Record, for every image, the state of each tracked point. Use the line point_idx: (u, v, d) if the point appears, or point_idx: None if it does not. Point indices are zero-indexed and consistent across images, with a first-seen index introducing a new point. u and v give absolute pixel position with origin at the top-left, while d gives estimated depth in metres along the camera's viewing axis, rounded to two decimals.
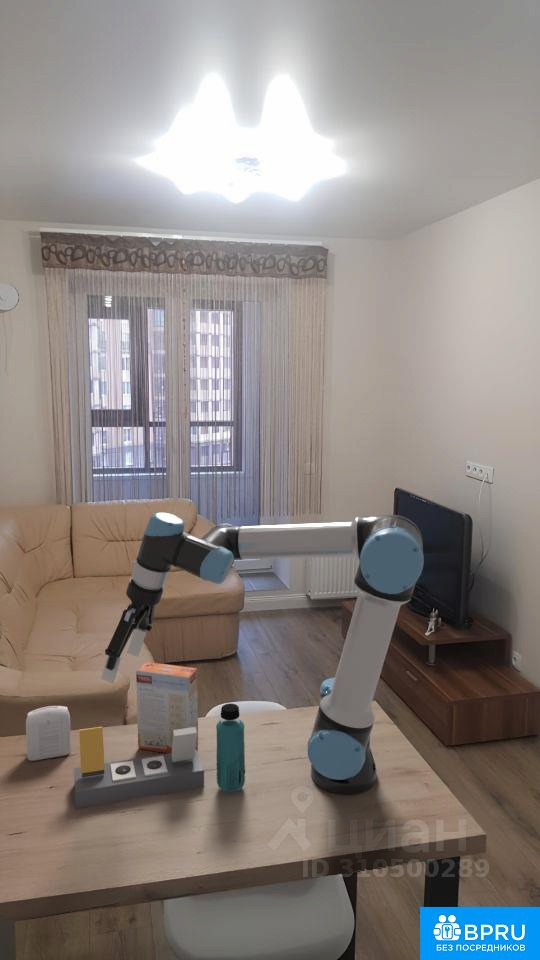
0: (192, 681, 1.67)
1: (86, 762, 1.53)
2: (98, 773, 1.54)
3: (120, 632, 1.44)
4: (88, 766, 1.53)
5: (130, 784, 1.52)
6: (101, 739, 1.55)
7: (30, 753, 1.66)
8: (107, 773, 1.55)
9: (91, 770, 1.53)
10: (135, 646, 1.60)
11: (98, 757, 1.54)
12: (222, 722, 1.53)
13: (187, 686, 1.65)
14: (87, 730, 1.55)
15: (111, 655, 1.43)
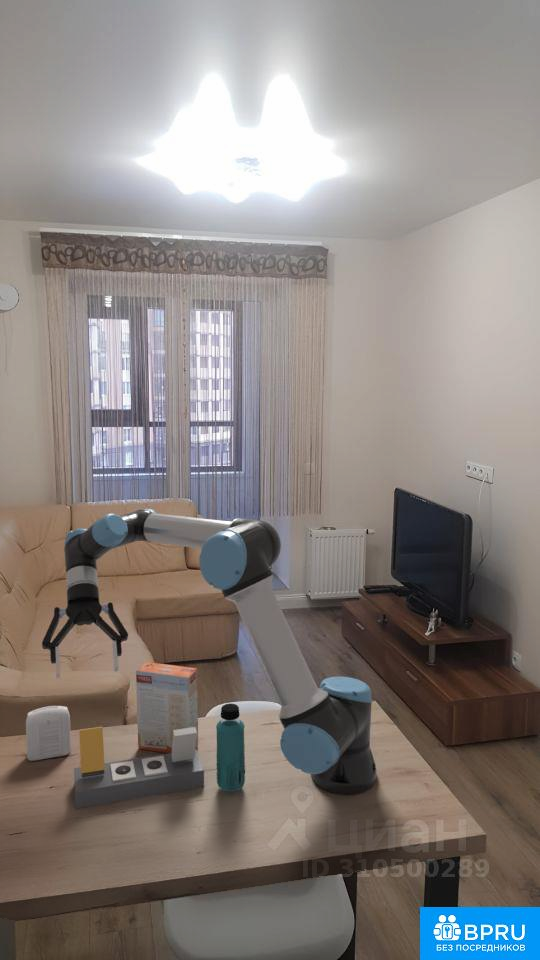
0: (192, 681, 1.67)
1: (86, 762, 1.53)
2: (98, 773, 1.54)
3: None
4: (88, 766, 1.53)
5: (130, 784, 1.52)
6: (101, 739, 1.55)
7: (30, 753, 1.66)
8: (107, 773, 1.55)
9: (91, 770, 1.53)
10: None
11: (98, 757, 1.54)
12: (222, 722, 1.53)
13: (187, 686, 1.65)
14: (87, 730, 1.55)
15: (42, 645, 1.61)
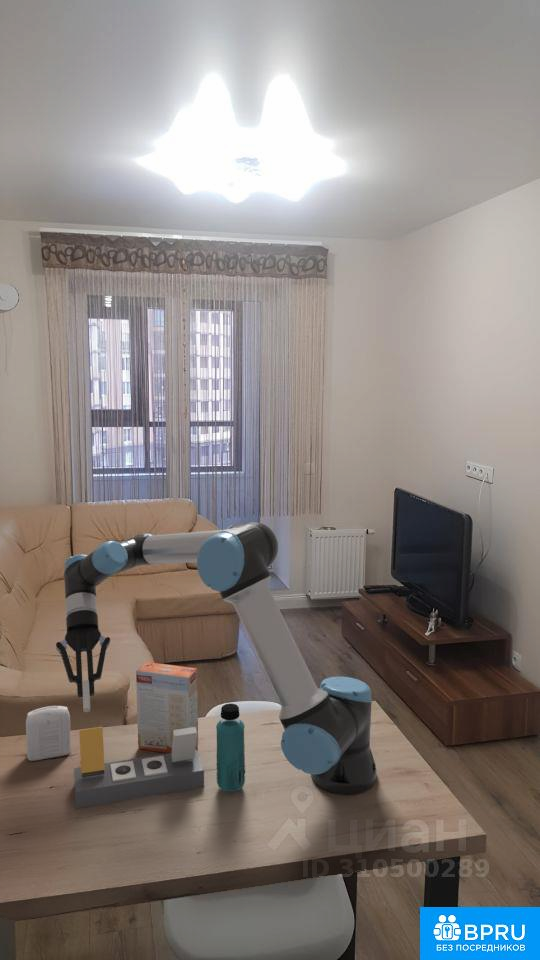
0: (192, 681, 1.67)
1: (86, 762, 1.53)
2: (98, 773, 1.54)
3: (63, 661, 1.65)
4: (88, 766, 1.53)
5: (130, 784, 1.52)
6: (101, 739, 1.55)
7: (30, 753, 1.66)
8: (107, 773, 1.55)
9: (91, 770, 1.53)
10: None
11: (98, 757, 1.54)
12: (222, 722, 1.53)
13: (187, 686, 1.65)
14: (87, 730, 1.55)
15: (69, 678, 1.62)
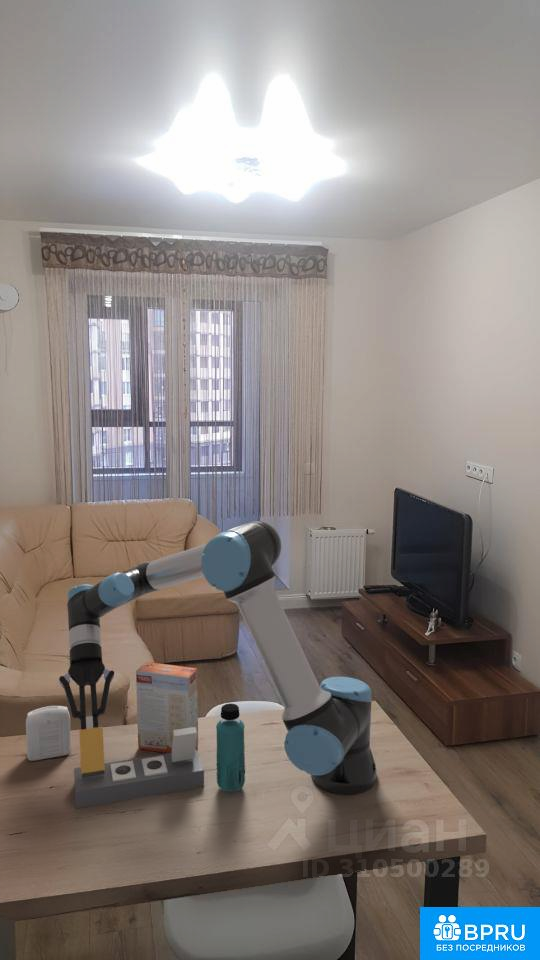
0: (192, 681, 1.67)
1: (86, 762, 1.53)
2: (98, 773, 1.54)
3: (66, 696, 1.62)
4: (88, 766, 1.53)
5: (130, 784, 1.52)
6: (101, 739, 1.55)
7: (30, 753, 1.66)
8: (107, 773, 1.55)
9: (91, 770, 1.53)
10: None
11: (98, 757, 1.54)
12: (222, 722, 1.53)
13: (187, 686, 1.65)
14: (87, 731, 1.54)
15: None
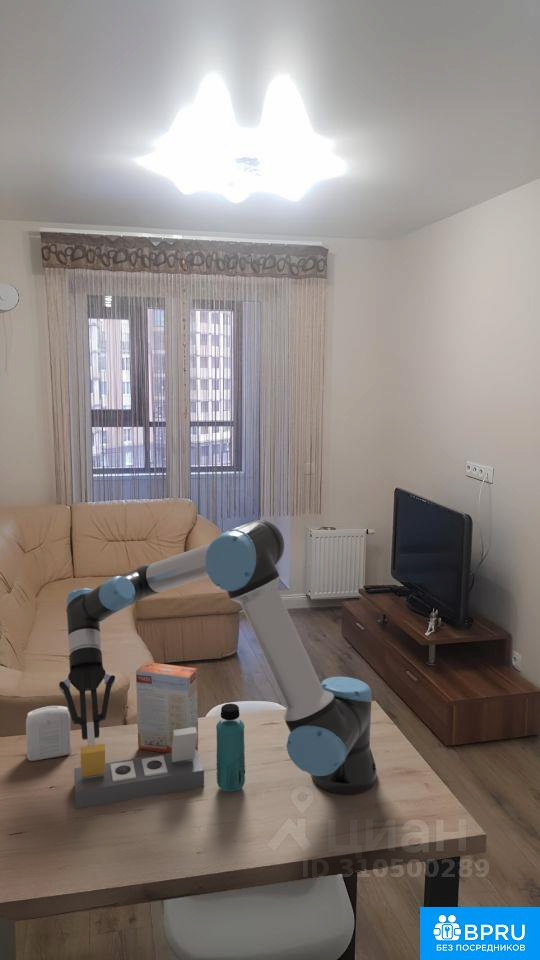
0: (192, 681, 1.67)
1: (87, 771, 1.51)
2: (98, 774, 1.54)
3: None
4: (88, 773, 1.52)
5: (130, 784, 1.52)
6: (103, 757, 1.50)
7: (30, 753, 1.66)
8: (107, 773, 1.55)
9: (91, 775, 1.53)
10: None
11: (99, 767, 1.52)
12: (222, 722, 1.53)
13: (187, 686, 1.65)
14: (89, 753, 1.48)
15: (73, 720, 1.57)
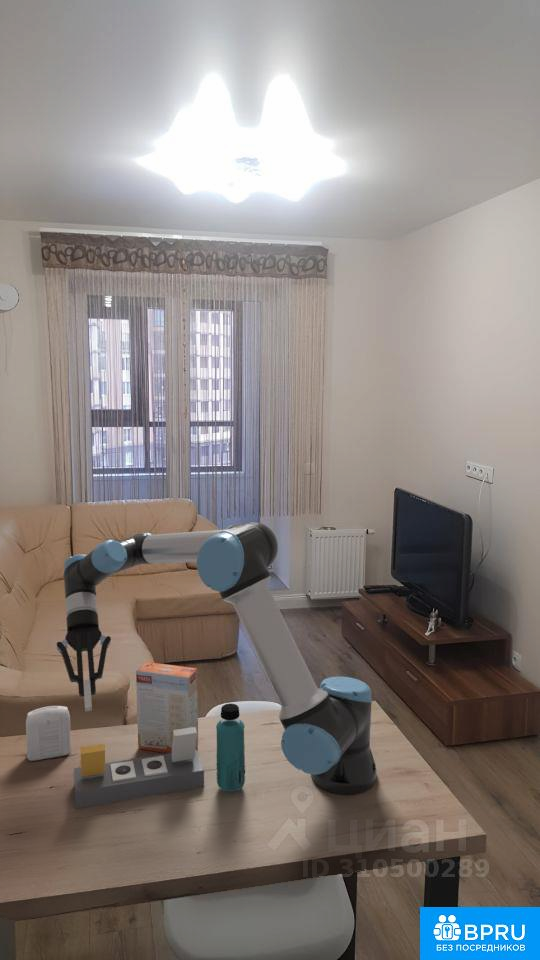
0: (192, 681, 1.67)
1: (87, 771, 1.51)
2: (98, 774, 1.54)
3: (64, 661, 1.64)
4: (88, 773, 1.52)
5: (130, 784, 1.52)
6: (103, 757, 1.50)
7: (30, 753, 1.66)
8: (107, 773, 1.55)
9: (91, 775, 1.53)
10: None
11: (99, 767, 1.52)
12: (222, 722, 1.53)
13: (187, 686, 1.65)
14: (89, 753, 1.48)
15: (70, 678, 1.62)
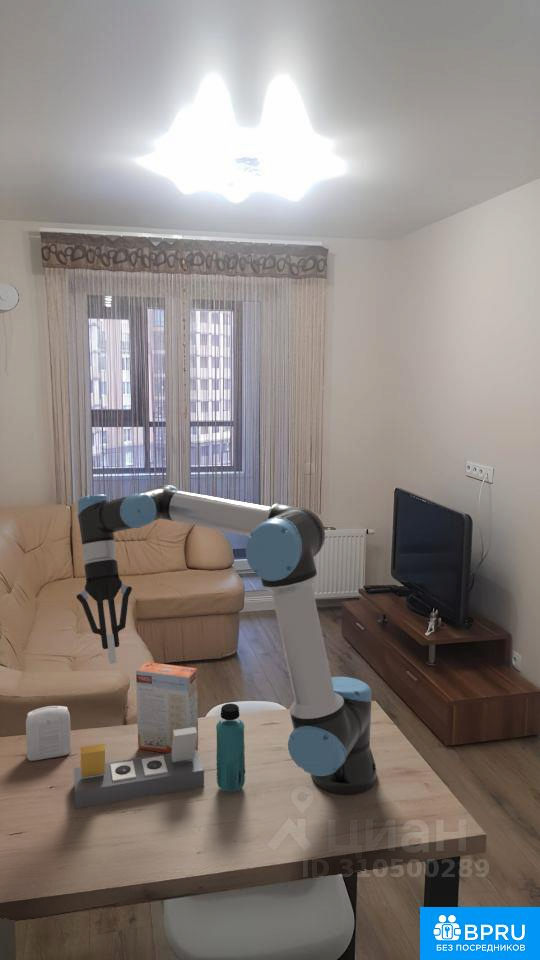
0: (192, 681, 1.67)
1: (87, 771, 1.51)
2: (98, 774, 1.54)
3: (85, 613, 1.60)
4: (88, 773, 1.52)
5: (130, 784, 1.52)
6: (103, 757, 1.50)
7: (30, 753, 1.66)
8: (107, 773, 1.55)
9: (91, 775, 1.53)
10: None
11: (99, 767, 1.52)
12: (222, 722, 1.53)
13: (187, 686, 1.65)
14: (89, 753, 1.48)
15: (92, 631, 1.60)
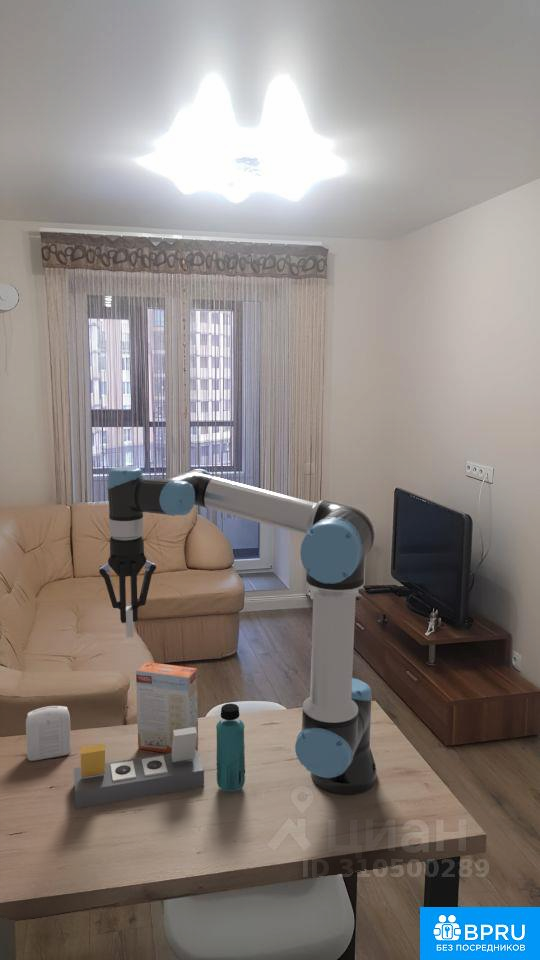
0: (192, 681, 1.67)
1: (87, 771, 1.51)
2: (98, 774, 1.54)
3: None
4: (88, 773, 1.52)
5: (130, 784, 1.52)
6: (103, 757, 1.50)
7: (30, 753, 1.66)
8: (107, 773, 1.55)
9: (91, 775, 1.53)
10: None
11: (99, 767, 1.52)
12: (222, 722, 1.53)
13: (187, 686, 1.65)
14: (89, 753, 1.48)
15: None
